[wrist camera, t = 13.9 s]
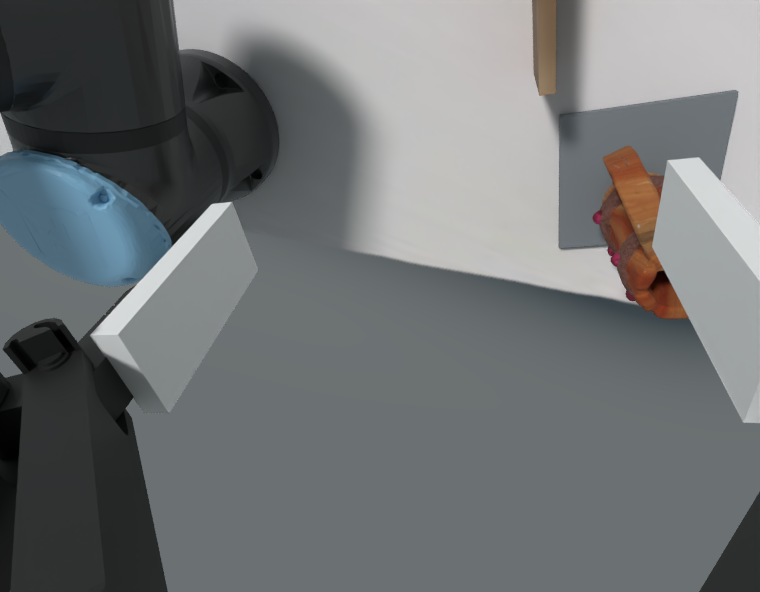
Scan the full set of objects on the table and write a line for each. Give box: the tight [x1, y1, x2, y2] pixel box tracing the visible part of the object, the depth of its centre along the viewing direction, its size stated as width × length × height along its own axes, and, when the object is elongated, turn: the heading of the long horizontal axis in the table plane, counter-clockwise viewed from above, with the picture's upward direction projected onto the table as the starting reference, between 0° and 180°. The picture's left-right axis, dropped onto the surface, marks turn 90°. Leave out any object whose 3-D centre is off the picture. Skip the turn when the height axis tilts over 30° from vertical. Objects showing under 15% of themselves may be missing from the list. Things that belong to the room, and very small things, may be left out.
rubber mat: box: [559, 90, 738, 248], centre depth 47 cm, size 14×14×1 cm
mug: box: [592, 146, 689, 319], centre depth 41 cm, size 15×8×15 cm, turn 35°
